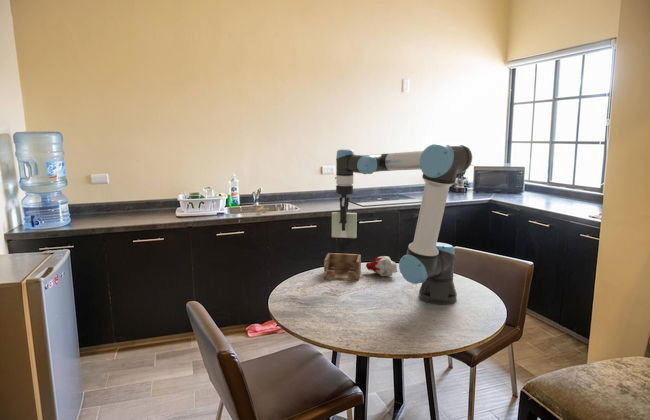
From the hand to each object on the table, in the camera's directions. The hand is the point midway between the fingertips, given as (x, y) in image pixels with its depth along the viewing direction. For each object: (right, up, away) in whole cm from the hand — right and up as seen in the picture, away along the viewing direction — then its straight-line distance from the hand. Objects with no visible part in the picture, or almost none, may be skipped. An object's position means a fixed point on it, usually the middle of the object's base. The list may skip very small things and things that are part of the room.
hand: (343, 236), depth 201 cm
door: (0, 0, 0) cm, 0 cm away
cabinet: (0, -19, +10) cm, 22 cm away
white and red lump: (+19, -19, +12) cm, 29 cm away
